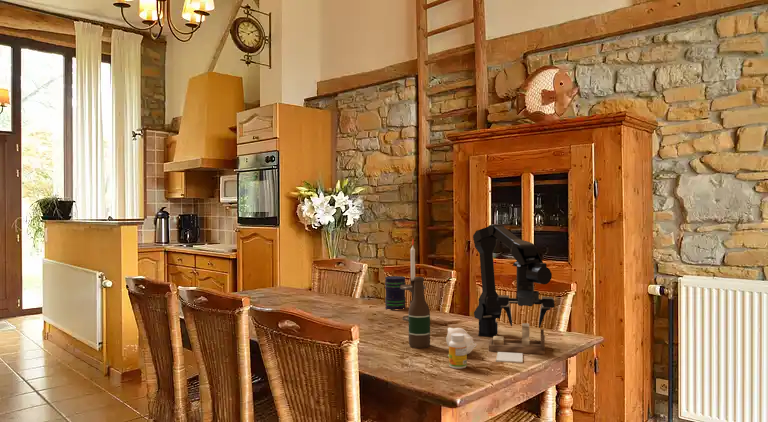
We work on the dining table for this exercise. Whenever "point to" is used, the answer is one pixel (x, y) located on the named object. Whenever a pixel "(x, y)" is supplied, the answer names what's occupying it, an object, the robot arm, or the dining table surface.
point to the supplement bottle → (457, 351)
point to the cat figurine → (467, 338)
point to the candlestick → (411, 286)
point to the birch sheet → (525, 334)
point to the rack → (520, 346)
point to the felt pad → (509, 357)
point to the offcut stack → (498, 340)
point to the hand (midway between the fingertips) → (525, 326)
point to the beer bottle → (419, 317)
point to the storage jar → (395, 292)
